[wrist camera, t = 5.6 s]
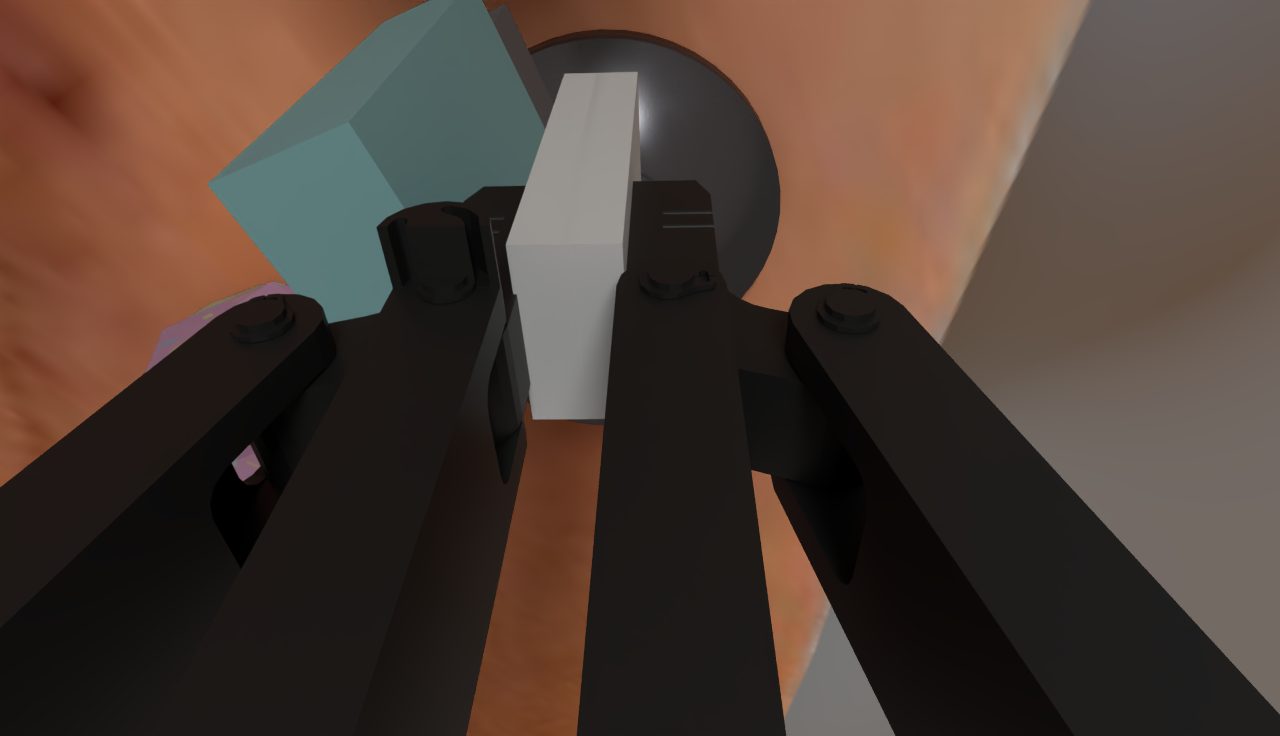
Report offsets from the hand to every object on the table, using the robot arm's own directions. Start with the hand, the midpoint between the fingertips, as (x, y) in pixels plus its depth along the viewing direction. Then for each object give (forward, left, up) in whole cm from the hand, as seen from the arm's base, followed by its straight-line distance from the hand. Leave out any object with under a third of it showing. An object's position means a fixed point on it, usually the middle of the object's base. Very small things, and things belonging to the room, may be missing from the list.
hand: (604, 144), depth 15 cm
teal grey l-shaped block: (-5, +2, -7) cm, 9 cm away
